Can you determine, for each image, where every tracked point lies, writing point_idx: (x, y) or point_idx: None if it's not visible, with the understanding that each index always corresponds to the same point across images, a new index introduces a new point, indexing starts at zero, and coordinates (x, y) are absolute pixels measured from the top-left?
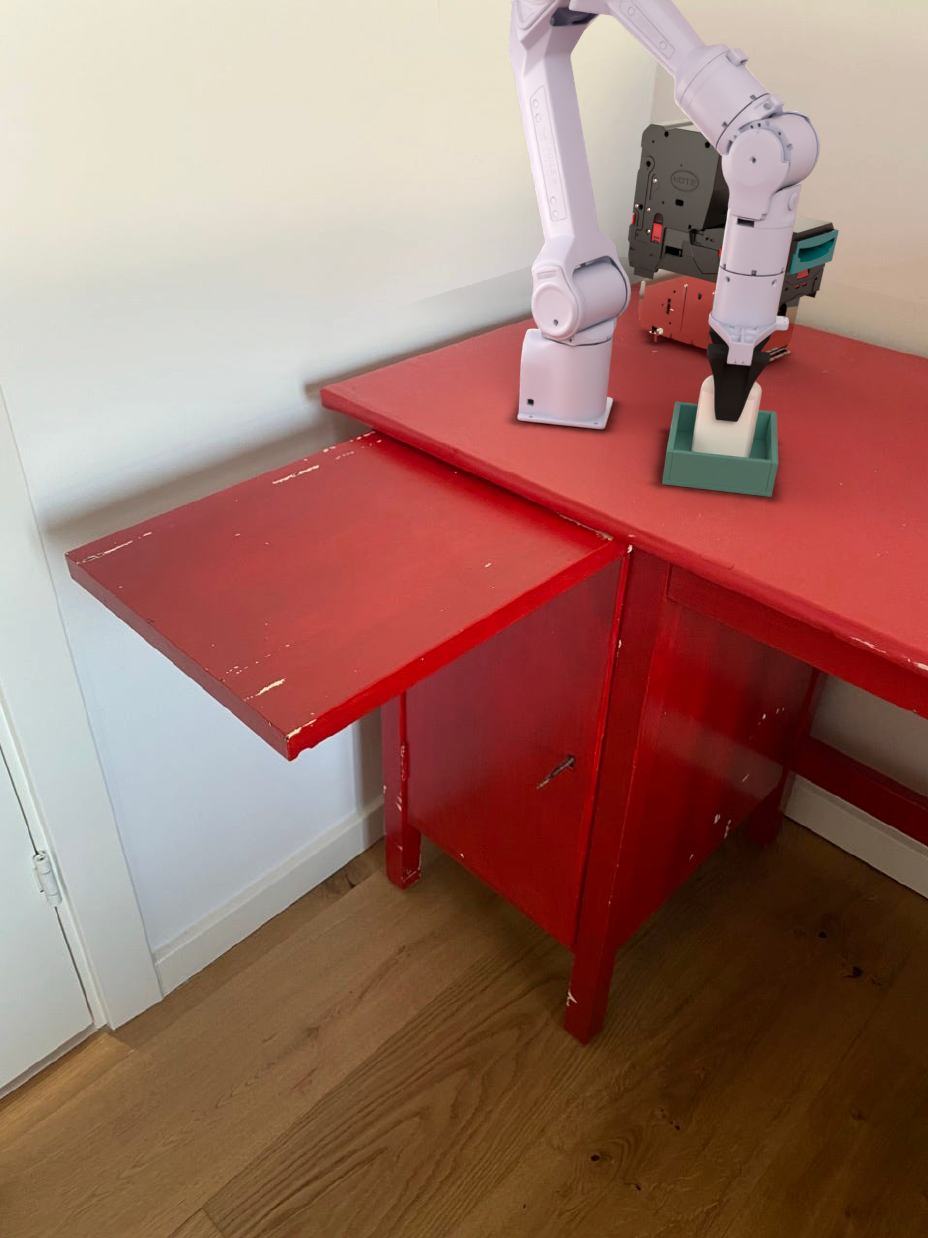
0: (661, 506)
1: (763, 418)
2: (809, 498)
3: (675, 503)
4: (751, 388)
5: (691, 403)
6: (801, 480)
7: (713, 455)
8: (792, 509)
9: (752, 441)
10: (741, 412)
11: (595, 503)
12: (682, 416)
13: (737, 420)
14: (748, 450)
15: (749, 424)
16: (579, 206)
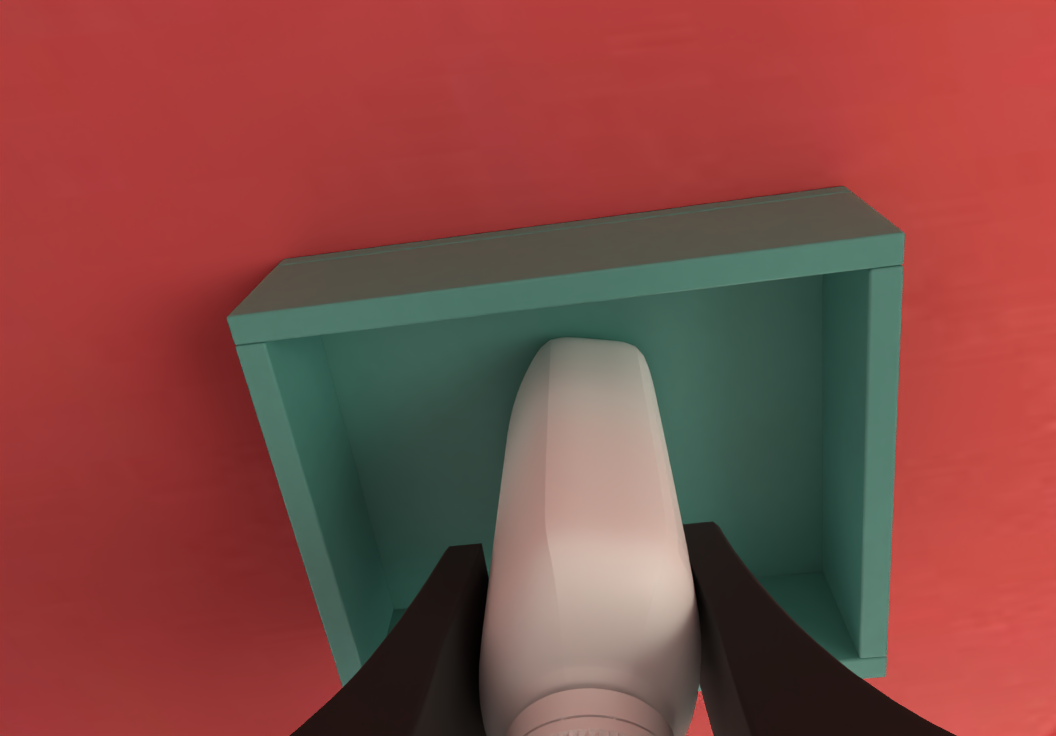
0: (1016, 548)
1: (285, 357)
2: (806, 9)
3: (982, 512)
4: (807, 636)
5: (339, 664)
6: (621, 70)
7: (886, 517)
8: (942, 77)
9: (572, 369)
10: (727, 545)
11: (1032, 718)
12: (379, 644)
13: (715, 525)
14: (631, 366)
15: (662, 452)
16: None
